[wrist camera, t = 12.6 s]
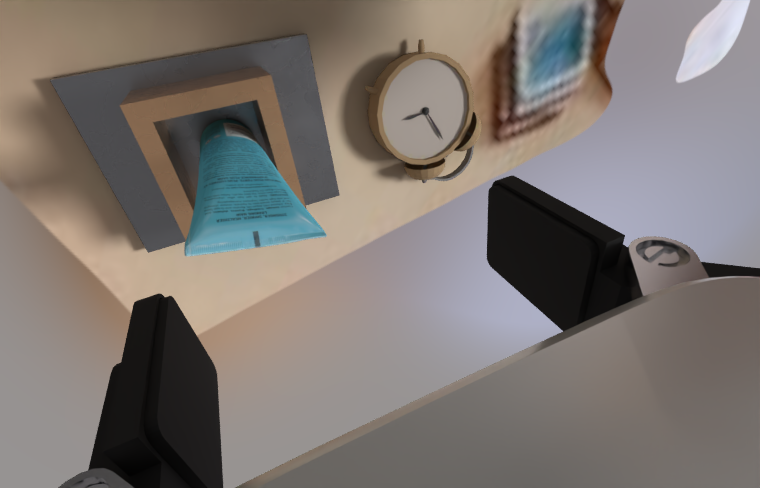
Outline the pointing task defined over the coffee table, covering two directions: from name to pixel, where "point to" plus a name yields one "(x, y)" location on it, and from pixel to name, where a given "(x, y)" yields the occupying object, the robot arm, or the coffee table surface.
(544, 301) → the robot arm
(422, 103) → the alarm clock
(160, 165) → the wooden box on base
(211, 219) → the tube
